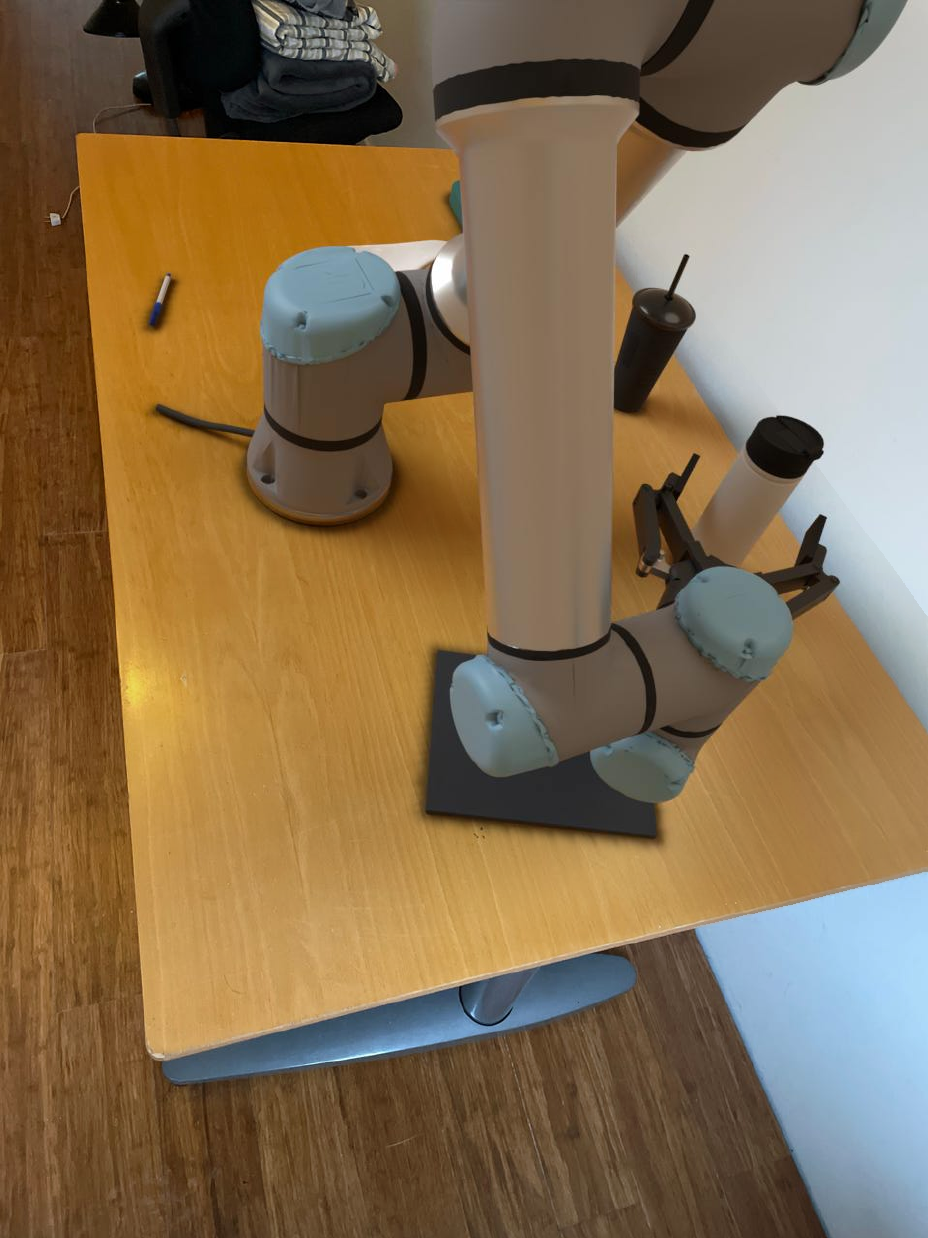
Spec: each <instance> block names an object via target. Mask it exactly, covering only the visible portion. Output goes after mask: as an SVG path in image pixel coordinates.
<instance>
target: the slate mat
mask: <svg viewBox="0 0 928 1238" xmlns="http://www.w3.org/2000/svg"><path fill="white" fill-rule="evenodd" d="M476 655H477V654H473V653H465V652H459V651H450V650H444V649H437V651H436V657H435V658H436V659H435V672H434V673H435V674H434V685H433V701H432V714H431V725H430V726H431V727H430V738H429V739H430V741H429V755H428V767H427V782H426V795H425V808H424V809H425V810H424V812H425V813H426V814H434V815H442V816H443V815H444V816H451V817H459V818H461V817H462V818H469V819H478V820H486V821H487V820H488V821H498V822H506V823H507V822H508V823H515V824H521V825H522V824H523V825H532V826H541V827H549V828H558V829H569V830H576V831H586V832H595V833H603V834H613V835H621V836H630V837H637V838H638V837H640V838H649V839H656V838H657V837H658V829H657V818H656V809H655V803H651V802H644V801H639V800H636V799H633V798H630V797H628V796H626V795H624V794H623V793H621V792H619V791H617V790H615V789H613V788H612V787H610V786H609V785H608V784H607V783H605V782H604V781H603V780H602V779H601V778H600V776H599V775H598V774H597V772H596V771H595V769H594V768H593V765H592V762H591V758H590V751H589V752H586V753H583V754H580V755H577V756H574V757H572V758H569V759H566V760H563V761H560V762H558V764H556V765H554V766H553V767H548V766H546V767H542V768H538V769H534V770H531V771H527V772H523V773H519V774H515V775H511V776H507V777H494V776H491V775H489V774H487V773H485V772H483V771H482V770H481V769H480V768H479V767H478V765H477V764H476V763H475V762H474V761H472V759H471V758H470V756H469V755H468V753H467V752H466V750H465V748H464V746H463V744H462V742H461V740H460V737H459V735H458V732H457V729H456V726H455V723H454V719H453V714H452V709H451V702H450V688H451V685H452V683H453V681H452V679H453V673H454V672H455V670H456V668H457V667H458V666H459V665H460V664H462V663H464V662H466V661H469V660H472V659H474V658H475V657H476Z"/></svg>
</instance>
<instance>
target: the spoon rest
mask: <svg viewBox="0 0 928 1238" xmlns="http://www.w3.org/2000/svg"><path fill="white" fill-rule="evenodd" d="M447 242H448V241H446V240H439V239H428V240H417V241H407V242H399V243H385V244H365V245H363V244H362V245H347V246H346V247H353V248H354V249H355V251H356V252H358V253H360V252H362V251H364V250H365V251H368V252H371V253H373V254H375V255H377V256H379V257H380V258H382V259H383V260H385V261H386V262H387V263H388V264H389V265H390V266H391V267H392V269H393V270H394V272H395V271H404V270H418V269H427V268H429V267H430V266H431V264H432V263H433V261H434V259H435V257H436V256H437V254H438V252H439V251H440V250H441V248H442V247H443V246H444V245H445V244H446V243H447Z"/></svg>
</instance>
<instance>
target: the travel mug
mask: <svg viewBox="0 0 928 1238" xmlns="http://www.w3.org/2000/svg"><path fill="white" fill-rule="evenodd" d="M824 447H825V441H824V438H823V436H822V434H821V433H820V432H819V431H818V430H817V429H816V427H814V426H812V425H811V424H809V423H807V422H805V421H804V420H801V419H798V418H796V417H792V416H789V415H778V414H777V415H776V416H768V417H764V418H762V419H761V420H759V421H758V422H757V424H756V425H755V427H754V428H753V430H752V432H751V434H750V436H748V437H747V439H746V441H745V442H744V444H743V445H742V447H741V449H740V450H739V452H738V454H737V455H736V457H735V459H734V460H733V462H732V464H731V465H730V467H729V469H728V470H727V472H726V474H725V475H724V477H723V478H722V480H721V482H720V483H719V485H718V487H717V488H716V490H715V492H714V493H713V494H712V497H711V498H710V499H709V501H708V502H707V505H706V507H705V508H704V509H703V511H702V513H701V514H700V516H699V518H698V520H697V521H696V523H695V525H694V526H693V528H692V530H690V531H691V533H692V535H693V537H694V539H695V541H696V540H698V541H699V542H700V543H701V545H702V548H703V550H704V552H705V554H706V556H710V554H711V555H713V556H715V557H717V558H719V559H720V560H721V561H723V562H724V563H725V564H729V565H732V566H735V567H737V568H739V569H740V566H741V565H742V564H743V562H744V561H745V560H746V559H747V556H749V554H750V552H751V551H752V549H753V548H754V547H755V545H756V544H757V542H759V540H760V538H761V537H762V536H763V534H764V533H765V532H766V530H767V529H768V527H769V526H770V524H771V523H772V522H773V521H774V519H775V517H776V516H777V515H778V513H779V512H780V510H781V509H782V507H783V506H784V505H785V503H787V501H788V499H789V498H790V496H791V495H792V494H793V492H794V491H795V489H796V488H797V487H798V485H799V484H800V482H801V481H802V480H803V478H804V477H805V476H806V474H807V473H808V470H809V468H810V467H811V466H812V465H813V463H814V462H815V461H818V460H820V459H821V458H822V456H823V455H824V453H825V451H824Z"/></svg>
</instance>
